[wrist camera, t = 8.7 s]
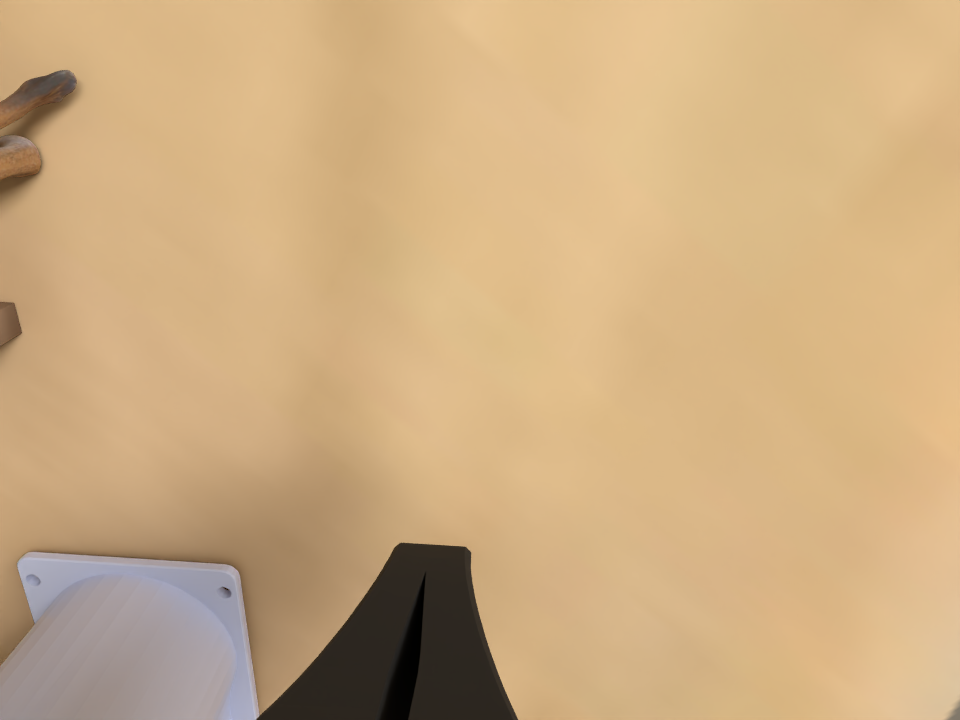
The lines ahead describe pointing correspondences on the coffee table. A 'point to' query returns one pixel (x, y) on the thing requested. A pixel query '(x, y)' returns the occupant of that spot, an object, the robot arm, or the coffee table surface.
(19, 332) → the frame
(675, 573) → the coffee table surface
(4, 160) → the lion figurine
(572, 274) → the coffee table surface
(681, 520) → the coffee table surface
